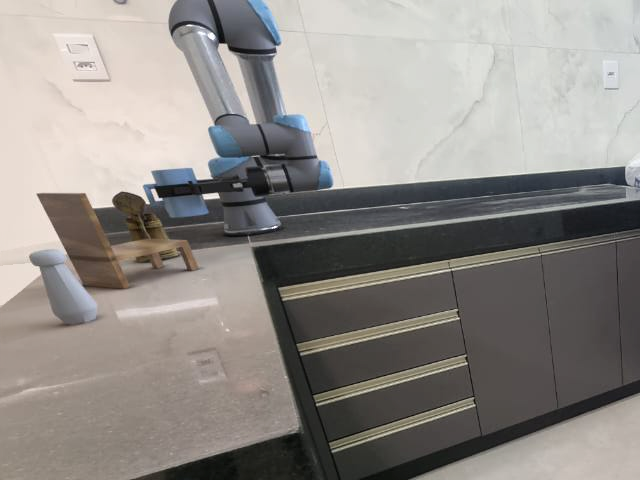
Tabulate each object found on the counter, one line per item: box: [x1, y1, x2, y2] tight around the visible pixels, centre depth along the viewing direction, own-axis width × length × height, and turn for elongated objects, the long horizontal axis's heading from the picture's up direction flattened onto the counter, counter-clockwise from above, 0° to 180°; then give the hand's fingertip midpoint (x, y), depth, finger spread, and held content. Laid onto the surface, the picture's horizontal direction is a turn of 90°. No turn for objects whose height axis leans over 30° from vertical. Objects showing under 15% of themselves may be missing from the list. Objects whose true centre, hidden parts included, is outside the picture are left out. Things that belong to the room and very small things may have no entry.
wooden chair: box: [36, 192, 200, 290], centre depth 120 cm, size 16×14×20 cm
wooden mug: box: [111, 191, 179, 263], centre depth 136 cm, size 9×14×18 cm, turn 35°
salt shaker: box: [28, 248, 99, 326], centre depth 94 cm, size 6×6×13 cm
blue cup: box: [142, 167, 210, 219], centre depth 131 cm, size 11×8×11 cm
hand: (157, 190), depth 129 cm, fingers closed on blue cup, 8 cm apart
